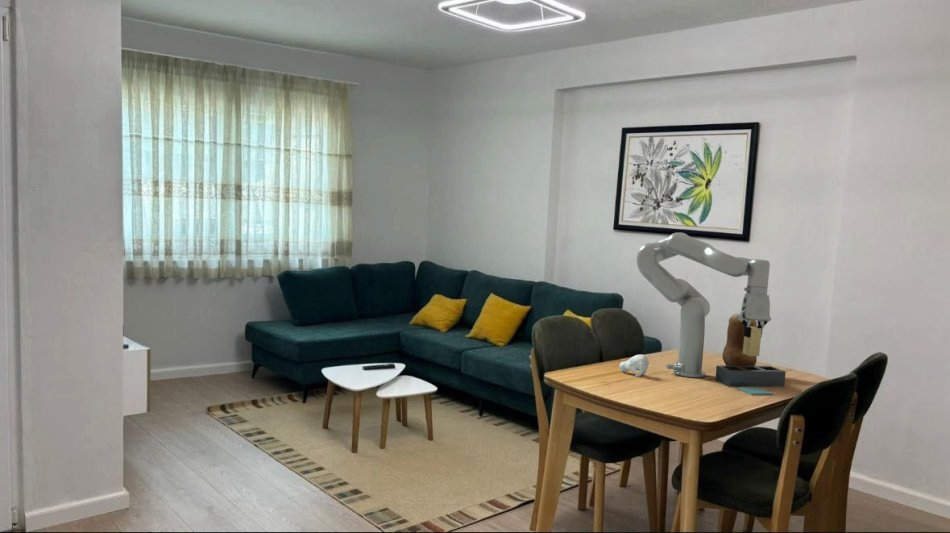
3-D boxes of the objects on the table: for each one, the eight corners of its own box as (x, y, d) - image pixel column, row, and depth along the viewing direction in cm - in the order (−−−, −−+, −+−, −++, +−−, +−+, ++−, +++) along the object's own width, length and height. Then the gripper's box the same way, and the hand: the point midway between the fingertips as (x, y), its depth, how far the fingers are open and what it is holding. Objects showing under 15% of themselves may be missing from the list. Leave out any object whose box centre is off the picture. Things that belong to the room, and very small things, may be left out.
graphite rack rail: (729, 386, 278) (730, 371, 278) (715, 380, 288) (716, 365, 288) (784, 386, 283) (785, 371, 283) (769, 380, 293) (770, 365, 293)
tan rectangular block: (749, 355, 282) (751, 328, 281) (742, 353, 287) (745, 326, 286) (759, 356, 283) (761, 328, 282) (752, 353, 288) (755, 326, 287)
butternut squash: (762, 376, 301) (767, 316, 299) (736, 377, 296) (741, 317, 294) (738, 368, 313) (743, 311, 311) (713, 369, 308) (718, 311, 306)
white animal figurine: (643, 356, 285) (616, 354, 292) (643, 377, 285) (616, 375, 292) (650, 354, 290) (623, 352, 297) (650, 375, 290) (623, 372, 297)
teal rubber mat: (751, 395, 266) (751, 393, 266) (737, 388, 275) (737, 387, 275) (773, 394, 268) (773, 393, 268) (758, 388, 277) (758, 387, 277)
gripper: (743, 291, 277) (738, 338, 279) (781, 292, 281) (777, 339, 282) (732, 288, 285) (728, 334, 286) (770, 290, 288) (765, 335, 290)
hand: (752, 336), depth 284 cm, fingers closed on tan rectangular block, 4 cm apart
